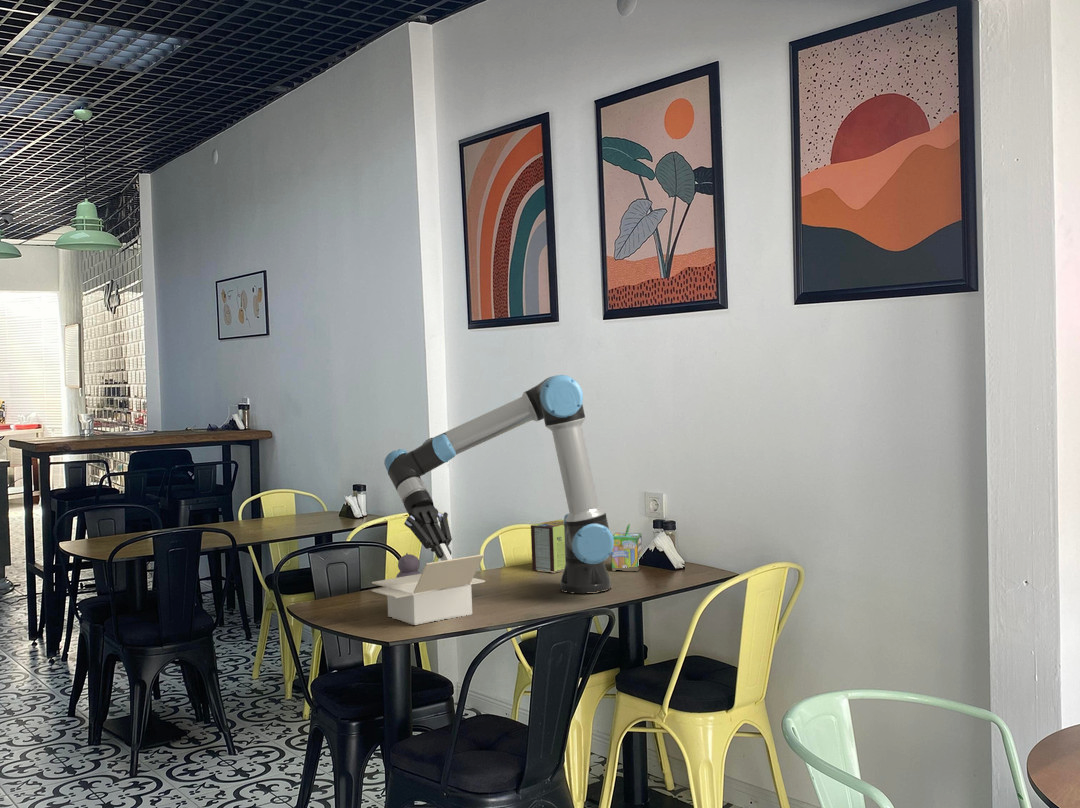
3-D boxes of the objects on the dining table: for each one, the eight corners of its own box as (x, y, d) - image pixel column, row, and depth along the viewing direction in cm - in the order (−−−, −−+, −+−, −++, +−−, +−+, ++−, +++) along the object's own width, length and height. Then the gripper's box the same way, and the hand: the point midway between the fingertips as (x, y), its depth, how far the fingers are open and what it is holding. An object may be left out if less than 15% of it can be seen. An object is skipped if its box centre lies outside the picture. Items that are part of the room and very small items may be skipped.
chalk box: (616, 566, 324) (614, 522, 324) (643, 567, 322) (641, 522, 322) (610, 571, 315) (609, 526, 315) (638, 572, 313) (637, 526, 313)
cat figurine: (420, 596, 287) (419, 556, 286) (394, 597, 287) (392, 557, 287) (424, 590, 295) (423, 551, 295) (398, 591, 295) (397, 552, 295)
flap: (426, 563, 245) (427, 564, 245) (483, 554, 256) (484, 555, 255) (413, 592, 251) (413, 593, 250) (469, 582, 261) (470, 583, 261)
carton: (355, 615, 265) (354, 584, 265) (442, 598, 282) (441, 570, 282) (397, 629, 247) (396, 597, 247) (487, 611, 264) (486, 580, 264)
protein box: (585, 566, 326) (583, 521, 326) (554, 574, 315) (552, 526, 315) (562, 563, 333) (560, 518, 333) (531, 570, 322) (529, 524, 322)
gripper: (431, 504, 271) (465, 571, 258) (390, 509, 263) (423, 578, 250) (440, 486, 267) (476, 554, 254) (399, 491, 259) (433, 560, 246)
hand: (450, 566), depth 252 cm, fingers closed
